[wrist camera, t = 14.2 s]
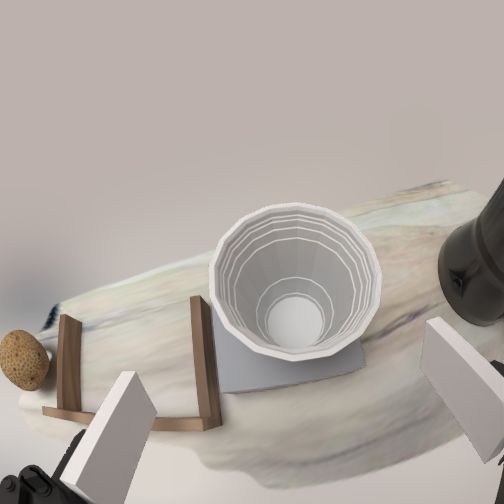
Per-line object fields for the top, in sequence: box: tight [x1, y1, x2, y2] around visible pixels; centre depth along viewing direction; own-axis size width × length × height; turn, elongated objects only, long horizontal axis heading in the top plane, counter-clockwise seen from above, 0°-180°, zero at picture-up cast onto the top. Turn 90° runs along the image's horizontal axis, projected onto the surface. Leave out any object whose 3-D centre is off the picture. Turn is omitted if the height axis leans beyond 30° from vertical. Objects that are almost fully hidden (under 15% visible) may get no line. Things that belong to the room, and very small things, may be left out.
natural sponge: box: [0, 330, 50, 391], centre depth 29 cm, size 9×9×10 cm
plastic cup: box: [209, 202, 382, 362], centre depth 22 cm, size 11×11×12 cm
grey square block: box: [211, 301, 366, 394], centre depth 30 cm, size 14×14×6 cm
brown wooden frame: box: [42, 295, 222, 431], centre depth 29 cm, size 22×15×7 cm
